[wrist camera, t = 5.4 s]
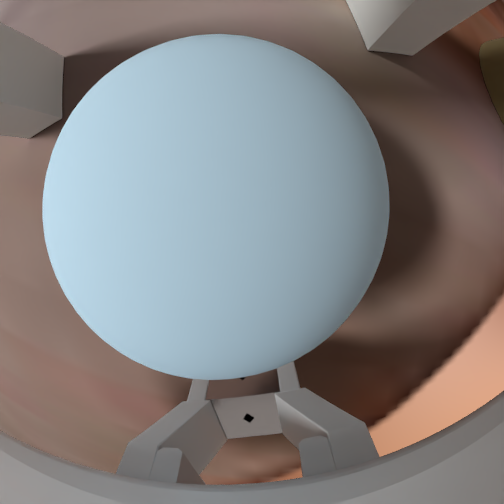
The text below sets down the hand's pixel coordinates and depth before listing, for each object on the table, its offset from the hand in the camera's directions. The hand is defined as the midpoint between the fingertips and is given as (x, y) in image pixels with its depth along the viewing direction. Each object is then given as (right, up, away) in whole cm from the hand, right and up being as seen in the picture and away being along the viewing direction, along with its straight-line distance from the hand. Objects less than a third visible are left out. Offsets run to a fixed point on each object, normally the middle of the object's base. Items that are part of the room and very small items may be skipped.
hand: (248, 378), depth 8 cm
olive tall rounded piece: (+13, +12, -1) cm, 18 cm away
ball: (-1, +5, -3) cm, 6 cm away
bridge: (-2, +11, -1) cm, 11 cm away
